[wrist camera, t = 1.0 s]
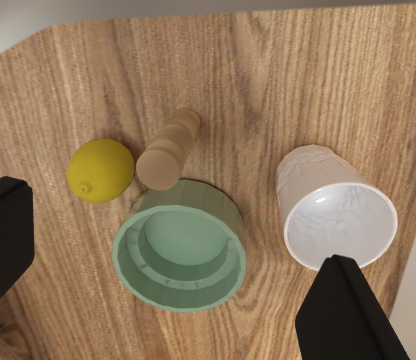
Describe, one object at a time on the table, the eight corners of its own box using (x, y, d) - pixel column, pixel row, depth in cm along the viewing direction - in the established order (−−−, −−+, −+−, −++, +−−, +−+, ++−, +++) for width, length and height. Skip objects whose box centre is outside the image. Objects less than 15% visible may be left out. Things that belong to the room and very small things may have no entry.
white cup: (257, 157, 30) (267, 207, 21) (335, 124, 28) (383, 164, 19) (285, 218, 33) (304, 285, 24) (358, 192, 31) (408, 254, 22)
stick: (166, 127, 30) (128, 177, 19) (179, 102, 29) (147, 141, 18) (191, 141, 30) (167, 198, 19) (205, 117, 29) (188, 164, 18)
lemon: (83, 135, 31) (37, 164, 24) (133, 124, 30) (101, 151, 23) (103, 182, 33) (66, 223, 26) (150, 173, 32) (126, 213, 25)
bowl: (114, 242, 36) (93, 278, 31) (161, 155, 31) (145, 180, 26) (208, 288, 38) (203, 329, 33) (267, 214, 33) (273, 248, 28)
